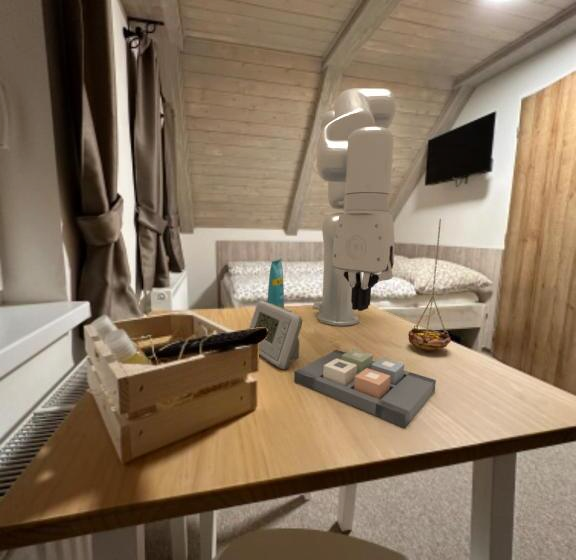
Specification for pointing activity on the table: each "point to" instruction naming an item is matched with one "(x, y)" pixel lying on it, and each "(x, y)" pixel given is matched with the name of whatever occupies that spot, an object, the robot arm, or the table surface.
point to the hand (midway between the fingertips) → (360, 308)
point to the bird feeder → (425, 336)
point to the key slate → (389, 369)
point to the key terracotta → (372, 383)
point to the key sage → (358, 359)
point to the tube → (276, 284)
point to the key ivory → (340, 371)
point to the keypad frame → (391, 407)
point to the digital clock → (278, 333)
